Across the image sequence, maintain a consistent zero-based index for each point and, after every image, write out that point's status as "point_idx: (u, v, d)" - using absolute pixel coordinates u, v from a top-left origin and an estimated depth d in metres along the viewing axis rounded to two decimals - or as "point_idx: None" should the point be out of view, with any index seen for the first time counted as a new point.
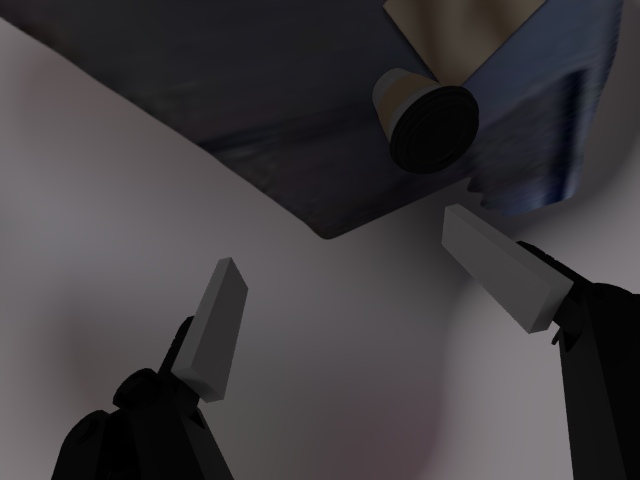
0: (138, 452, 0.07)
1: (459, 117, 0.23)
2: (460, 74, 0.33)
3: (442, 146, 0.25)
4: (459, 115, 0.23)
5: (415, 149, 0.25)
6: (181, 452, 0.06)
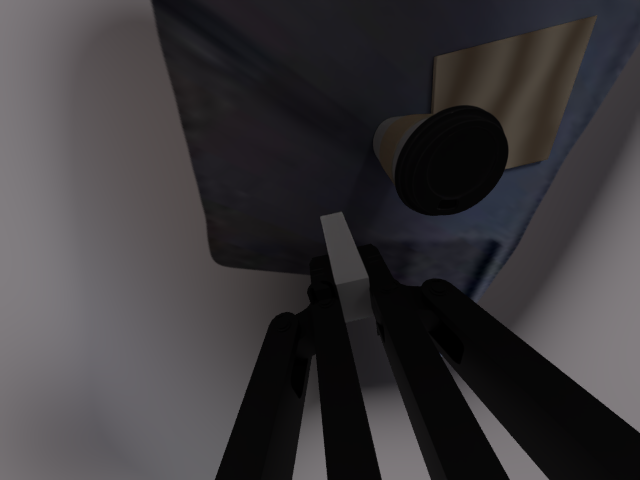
0: (314, 336, 0.08)
1: (492, 156, 0.19)
2: None
3: (457, 180, 0.19)
4: (493, 153, 0.18)
5: (436, 158, 0.18)
6: (345, 359, 0.07)
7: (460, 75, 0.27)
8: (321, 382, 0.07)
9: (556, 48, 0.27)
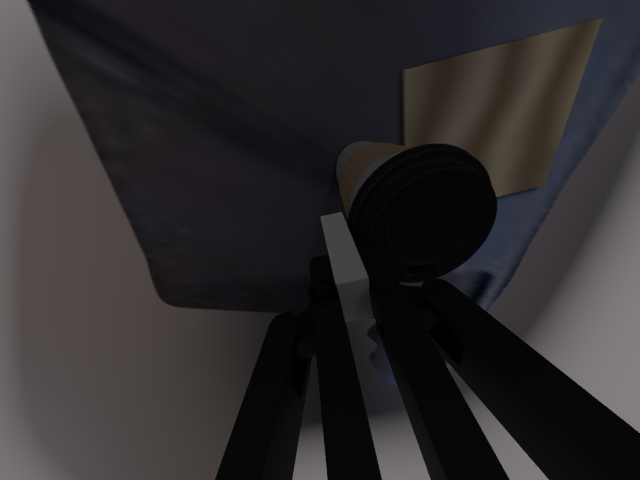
0: (314, 336, 0.08)
1: (475, 211, 0.13)
2: None
3: (430, 242, 0.14)
4: (477, 208, 0.13)
5: (398, 218, 0.13)
6: (345, 359, 0.07)
7: (435, 92, 0.22)
8: (321, 382, 0.07)
9: (552, 58, 0.22)
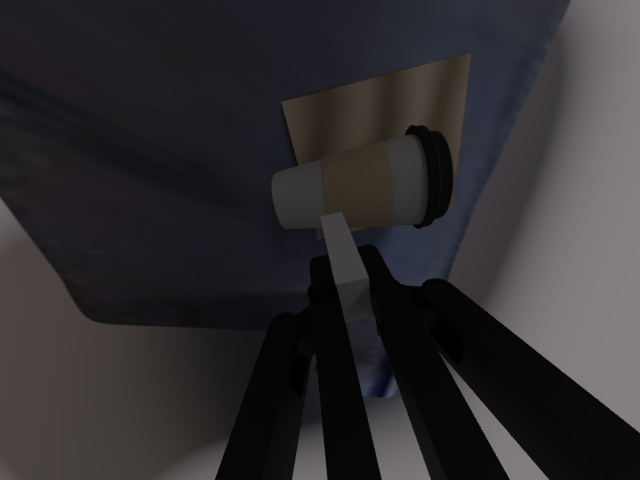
0: (315, 336, 0.08)
1: None
2: None
3: None
4: None
5: None
6: (345, 358, 0.07)
7: (318, 122, 0.23)
8: (321, 382, 0.07)
9: (429, 90, 0.22)
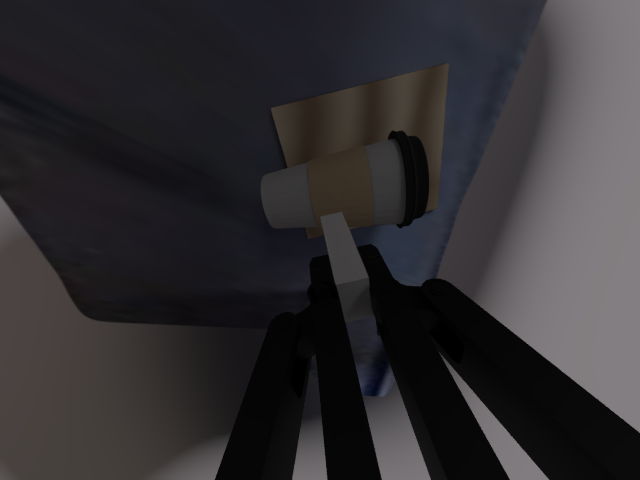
0: (314, 336, 0.08)
1: None
2: None
3: None
4: None
5: None
6: (345, 359, 0.07)
7: (306, 127, 0.24)
8: (321, 382, 0.07)
9: (410, 98, 0.24)
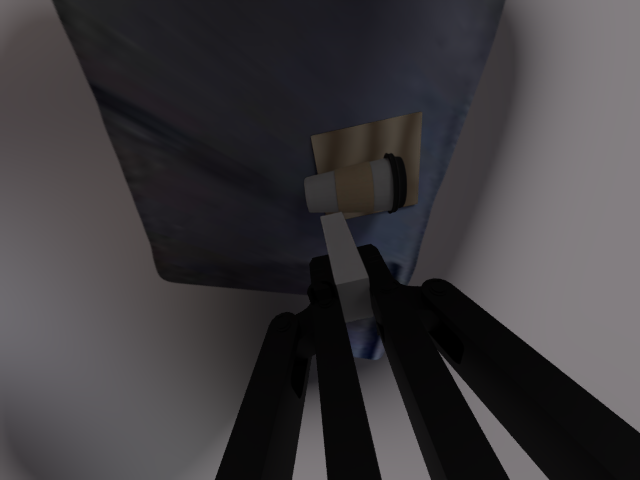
0: (314, 336, 0.08)
1: None
2: None
3: None
4: None
5: None
6: (345, 359, 0.07)
7: (331, 148, 0.38)
8: (321, 382, 0.07)
9: (398, 131, 0.37)
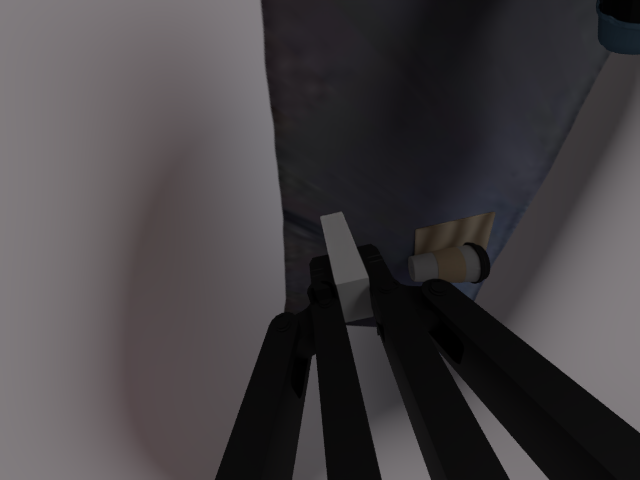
0: (314, 336, 0.08)
1: None
2: None
3: None
4: None
5: None
6: (345, 359, 0.07)
7: (429, 236, 0.53)
8: (321, 382, 0.07)
9: (477, 224, 0.53)
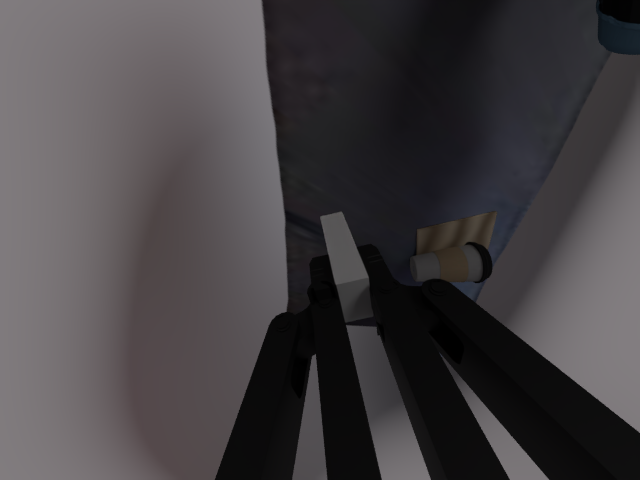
0: (314, 336, 0.08)
1: None
2: None
3: None
4: None
5: None
6: (345, 359, 0.07)
7: (430, 236, 0.53)
8: (321, 382, 0.07)
9: (478, 224, 0.53)
